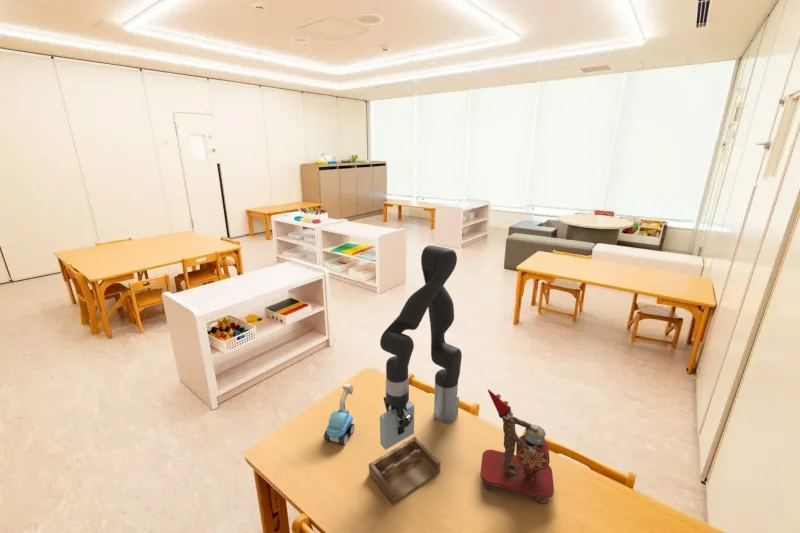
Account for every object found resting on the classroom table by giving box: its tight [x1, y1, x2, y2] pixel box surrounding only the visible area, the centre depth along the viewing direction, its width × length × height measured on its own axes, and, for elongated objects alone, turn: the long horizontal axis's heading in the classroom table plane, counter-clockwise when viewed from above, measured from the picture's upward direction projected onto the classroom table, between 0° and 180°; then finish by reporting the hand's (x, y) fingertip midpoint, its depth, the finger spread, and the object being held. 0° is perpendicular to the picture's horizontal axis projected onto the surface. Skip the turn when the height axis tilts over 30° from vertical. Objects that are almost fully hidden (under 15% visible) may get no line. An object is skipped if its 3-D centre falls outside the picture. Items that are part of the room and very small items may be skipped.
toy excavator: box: [323, 383, 355, 446], centre depth 140 cm, size 9×17×17 cm, turn 161°
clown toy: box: [479, 389, 555, 505], centre depth 115 cm, size 13×23×35 cm, turn 73°
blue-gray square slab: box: [379, 400, 415, 451], centre depth 121 cm, size 12×3×12 cm, turn 126°
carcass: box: [368, 436, 441, 506], centre depth 124 cm, size 20×14×5 cm
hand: (397, 429), depth 122 cm, fingers closed on blue-gray square slab, 3 cm apart
